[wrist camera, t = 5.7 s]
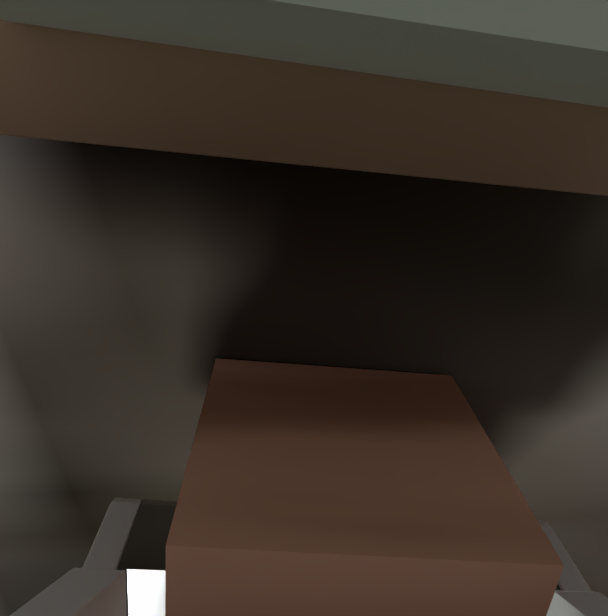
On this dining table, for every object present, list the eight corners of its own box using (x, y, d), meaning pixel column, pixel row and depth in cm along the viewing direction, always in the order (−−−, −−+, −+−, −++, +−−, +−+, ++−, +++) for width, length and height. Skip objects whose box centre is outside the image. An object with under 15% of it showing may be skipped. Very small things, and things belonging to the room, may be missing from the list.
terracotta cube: (215, 358, 11) (166, 545, 7) (451, 375, 12) (564, 565, 7) (207, 544, 13) (164, 794, 8) (412, 554, 13) (479, 801, 9)
